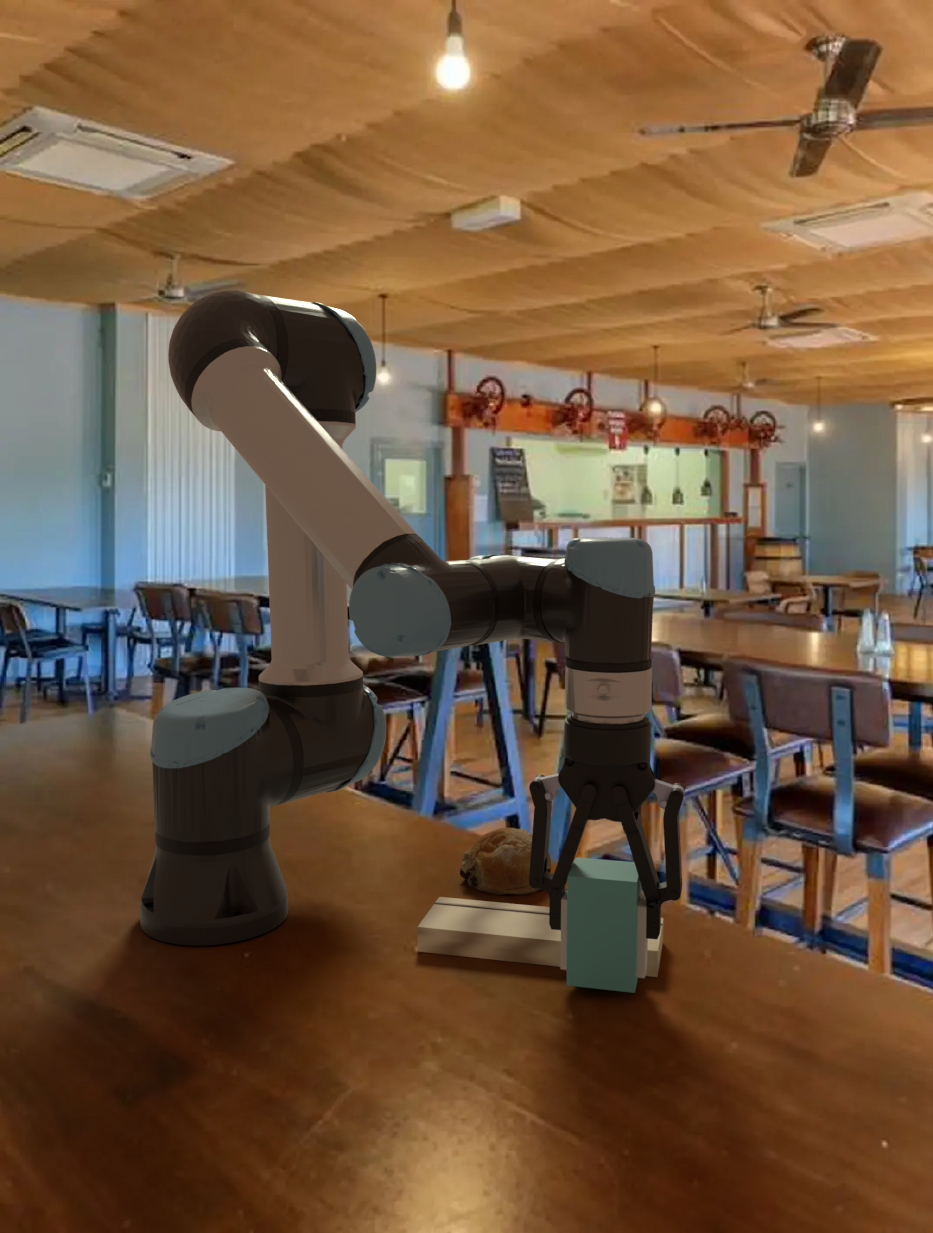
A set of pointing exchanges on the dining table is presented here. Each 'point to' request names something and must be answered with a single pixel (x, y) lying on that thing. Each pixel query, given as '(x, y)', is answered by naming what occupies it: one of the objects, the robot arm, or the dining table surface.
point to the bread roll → (500, 862)
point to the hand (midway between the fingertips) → (604, 966)
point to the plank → (501, 933)
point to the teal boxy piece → (602, 924)
